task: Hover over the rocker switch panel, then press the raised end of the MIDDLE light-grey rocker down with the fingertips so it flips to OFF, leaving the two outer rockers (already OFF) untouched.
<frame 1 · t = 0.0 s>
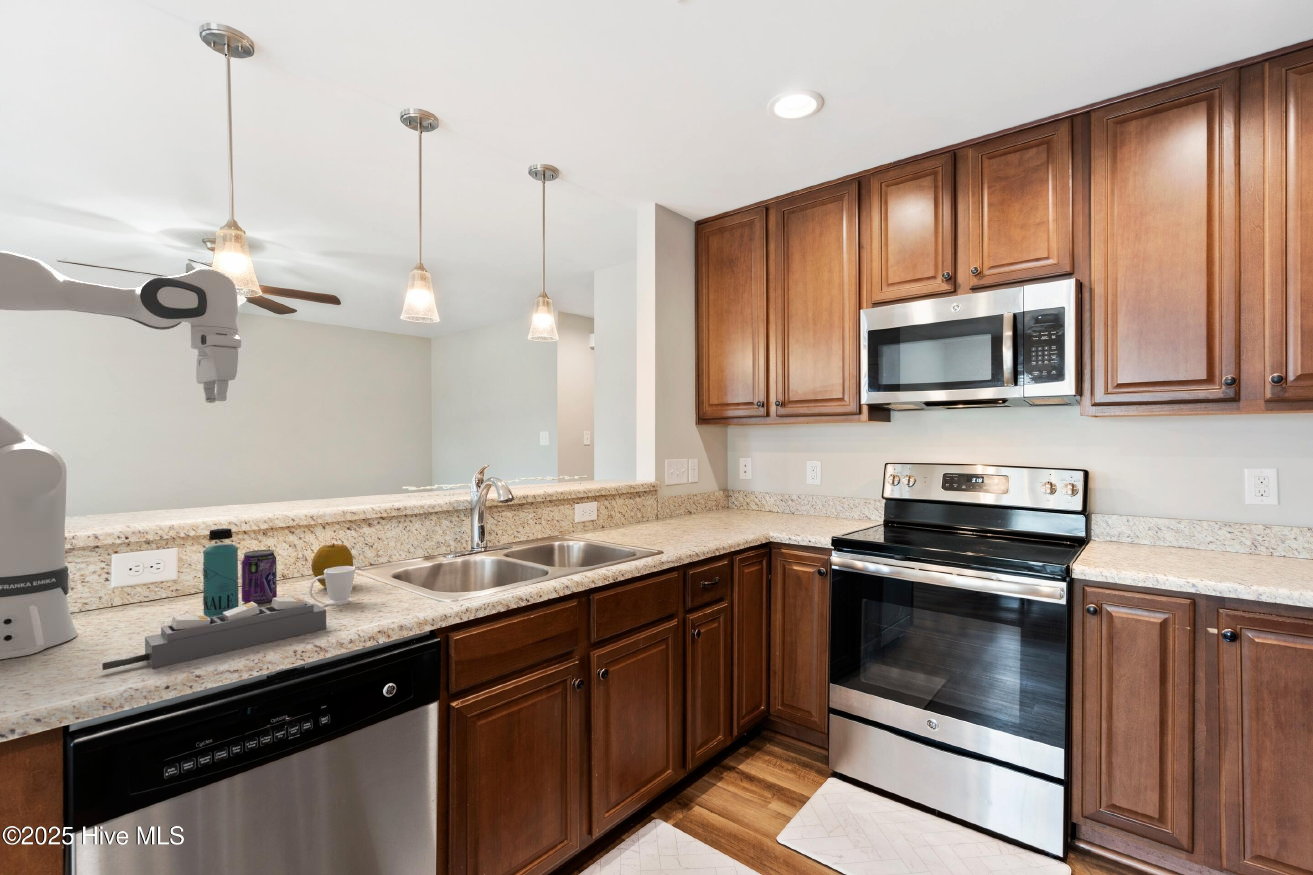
hand: (215, 402, 139), 48 cm above the countertop, fingers open, 8 cm apart
rocker 3: (288, 603, 123), point 6 cm above the countertop, hinge at 12.0°
beverage can: (259, 602, 146), on the countertop
rocker switch panel: (242, 642, 117), on the countertop
apple: (332, 587, 159), on the countertop
rocker 1: (190, 621, 111), point 6 cm above the countertop, hinge at 12.0°
cup: (333, 604, 143), on the countertop
beverage bottle: (221, 621, 131), on the countertop
rocker 2: (241, 612, 117), point 6 cm above the countertop, hinge at -12.0°
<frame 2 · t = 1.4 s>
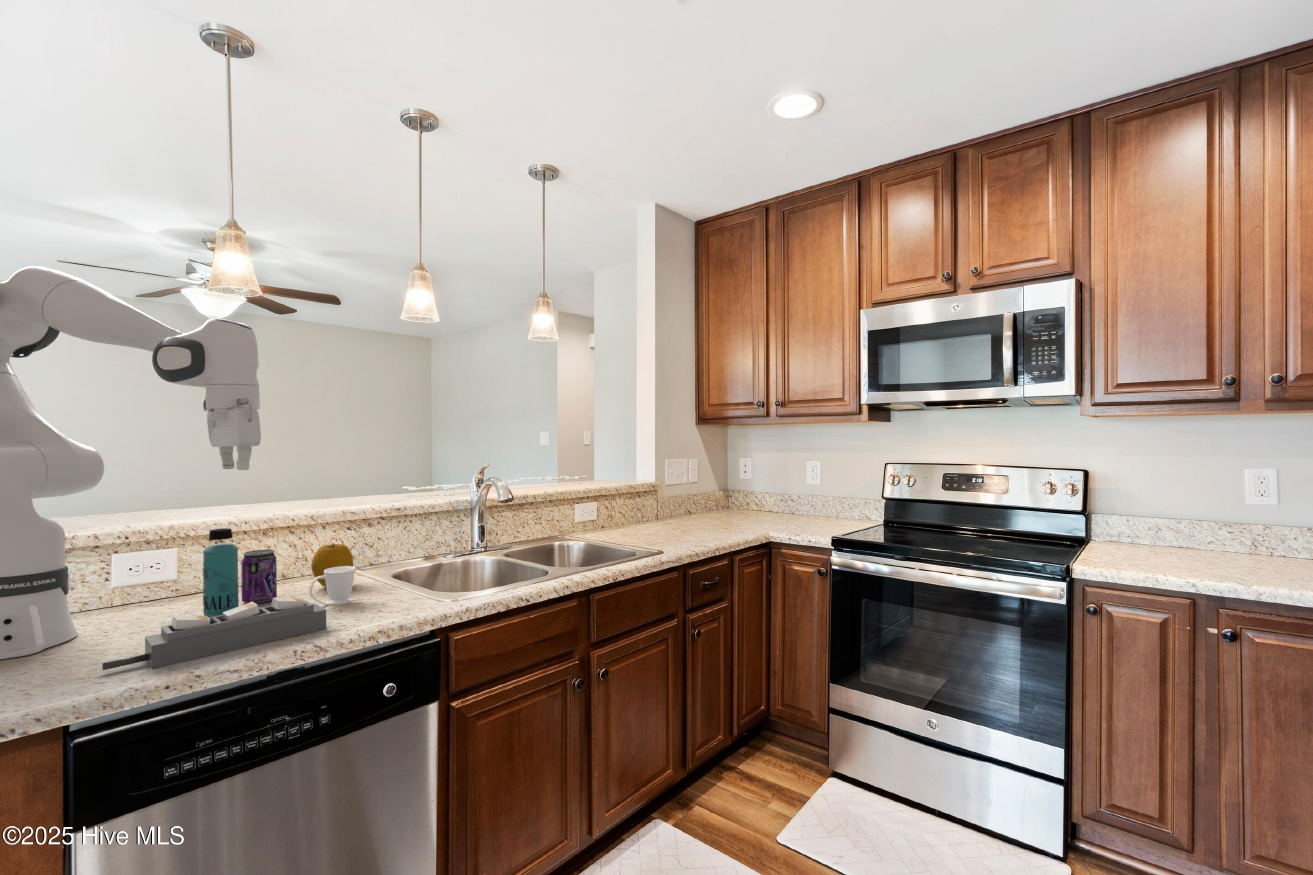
hand: (235, 469, 121), 33 cm above the countertop, fingers open, 8 cm apart
nothing on the countertop moved.
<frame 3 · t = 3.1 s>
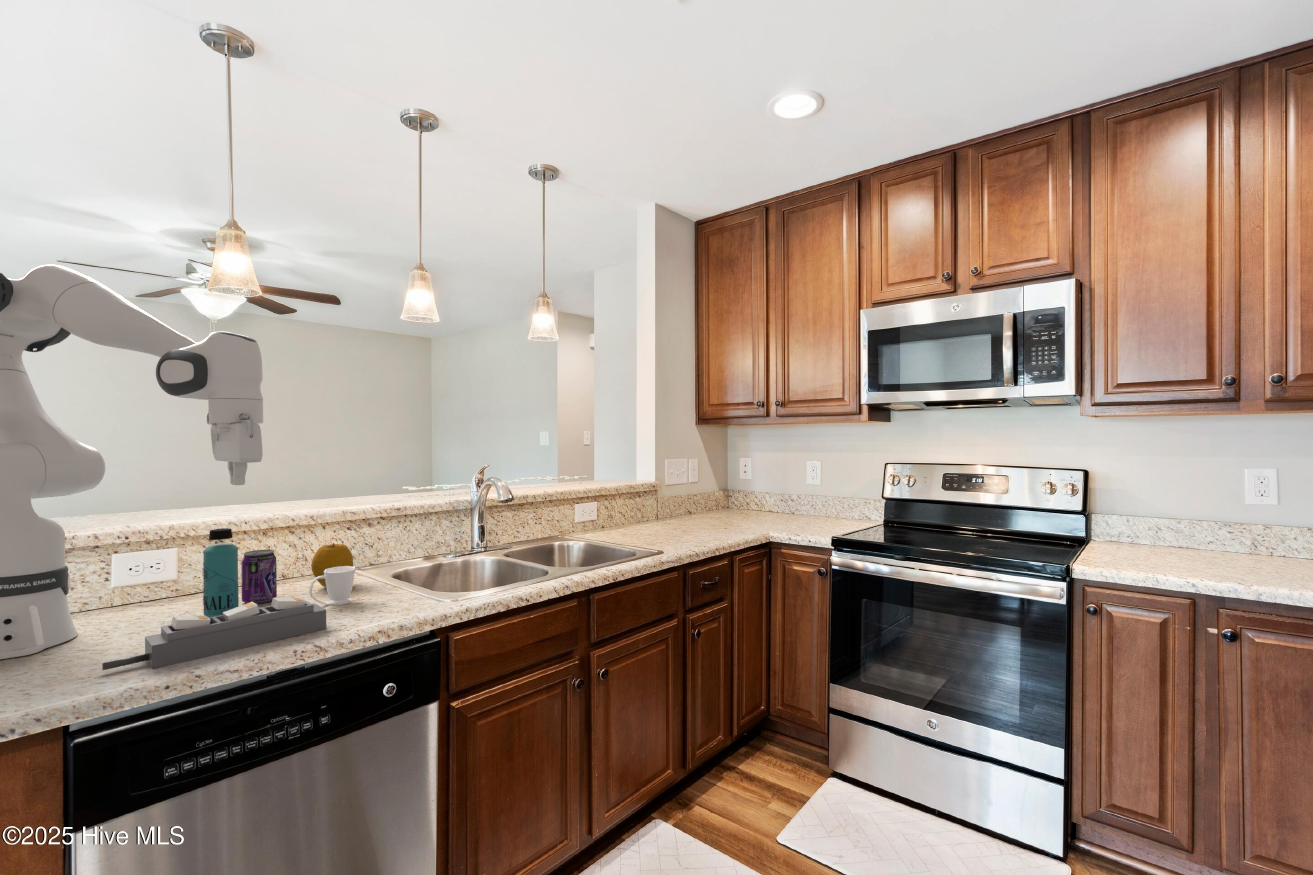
hand: (237, 484, 119), 31 cm above the countertop, fingers closed
nothing on the countertop moved.
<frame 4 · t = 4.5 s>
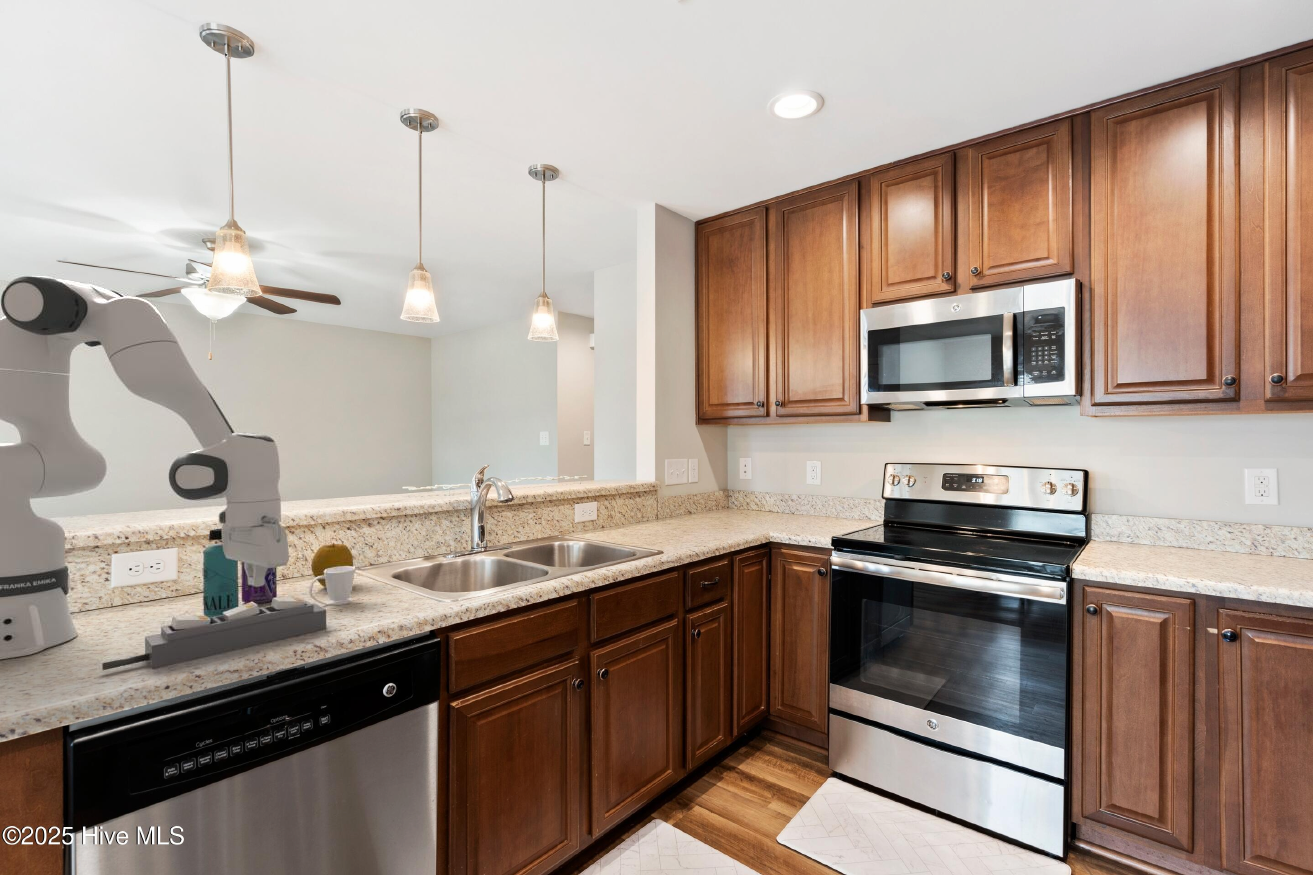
hand: (256, 585, 118), 11 cm above the countertop, fingers closed
nothing on the countertop moved.
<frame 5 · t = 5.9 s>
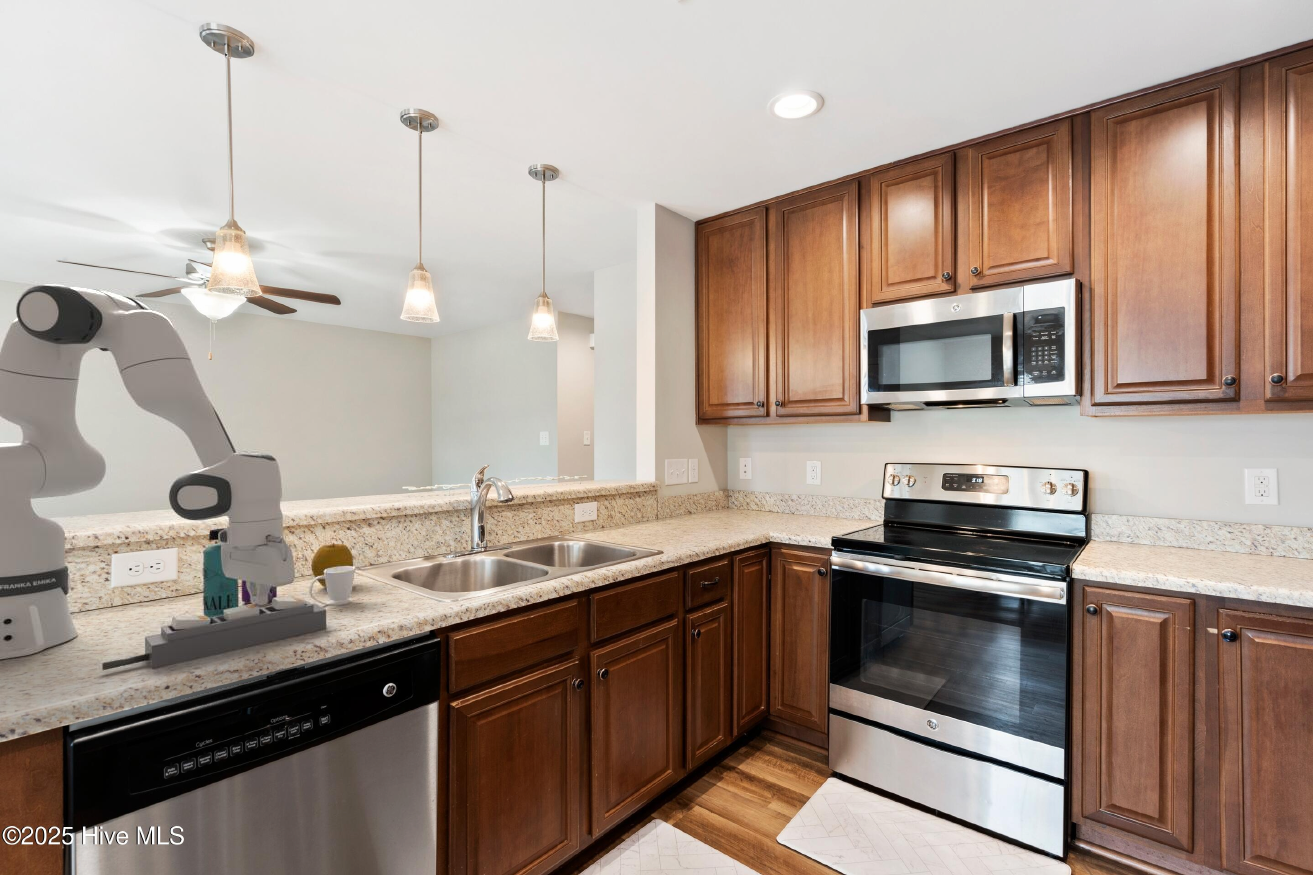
hand: (259, 603, 119), 7 cm above the countertop, fingers closed
rocker 2: (241, 612, 117), point 6 cm above the countertop, hinge at -2.8°
everything else where it was.
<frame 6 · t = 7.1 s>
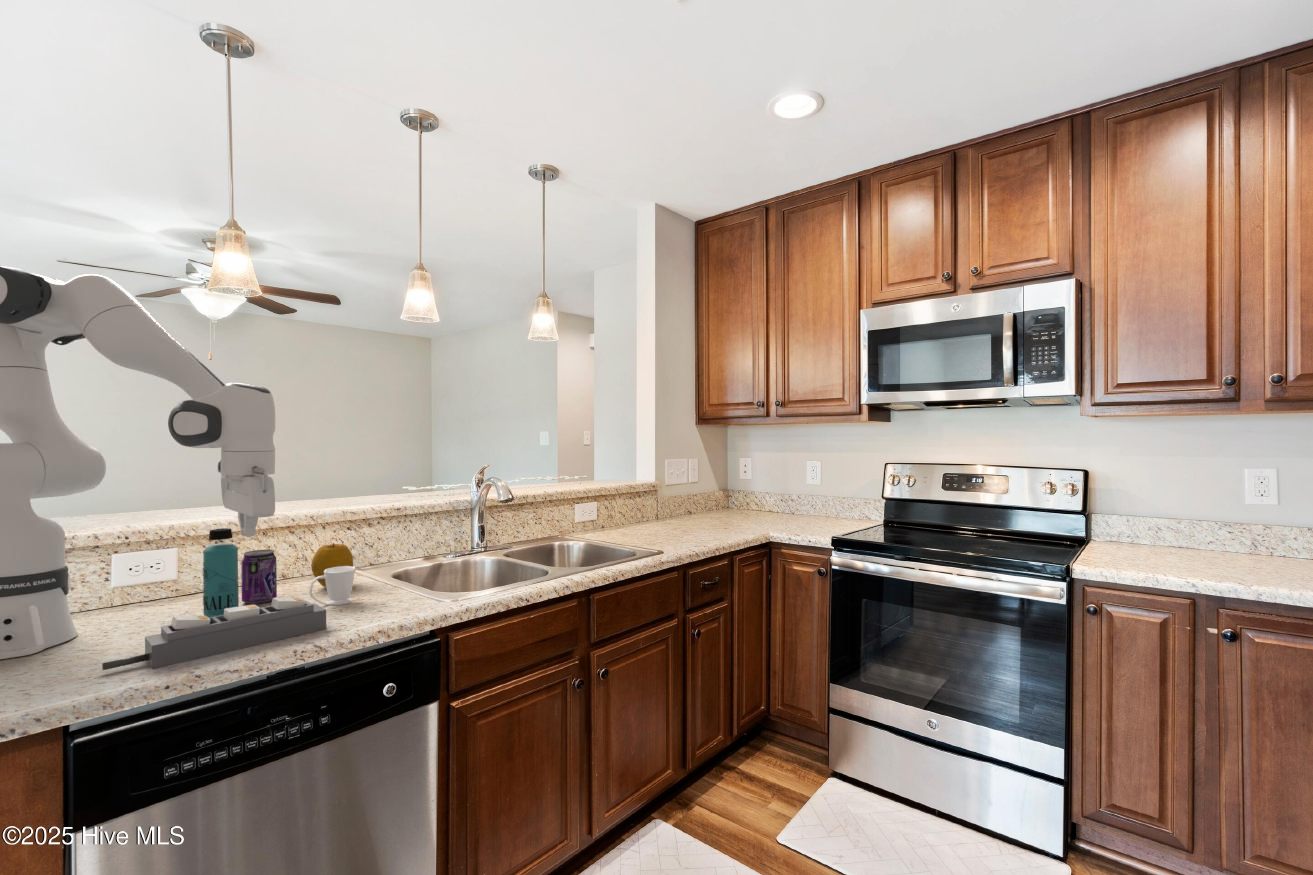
hand: (247, 535, 119), 20 cm above the countertop, fingers closed
rocker 2: (241, 612, 117), point 6 cm above the countertop, hinge at 2.7°
everything else where it was.
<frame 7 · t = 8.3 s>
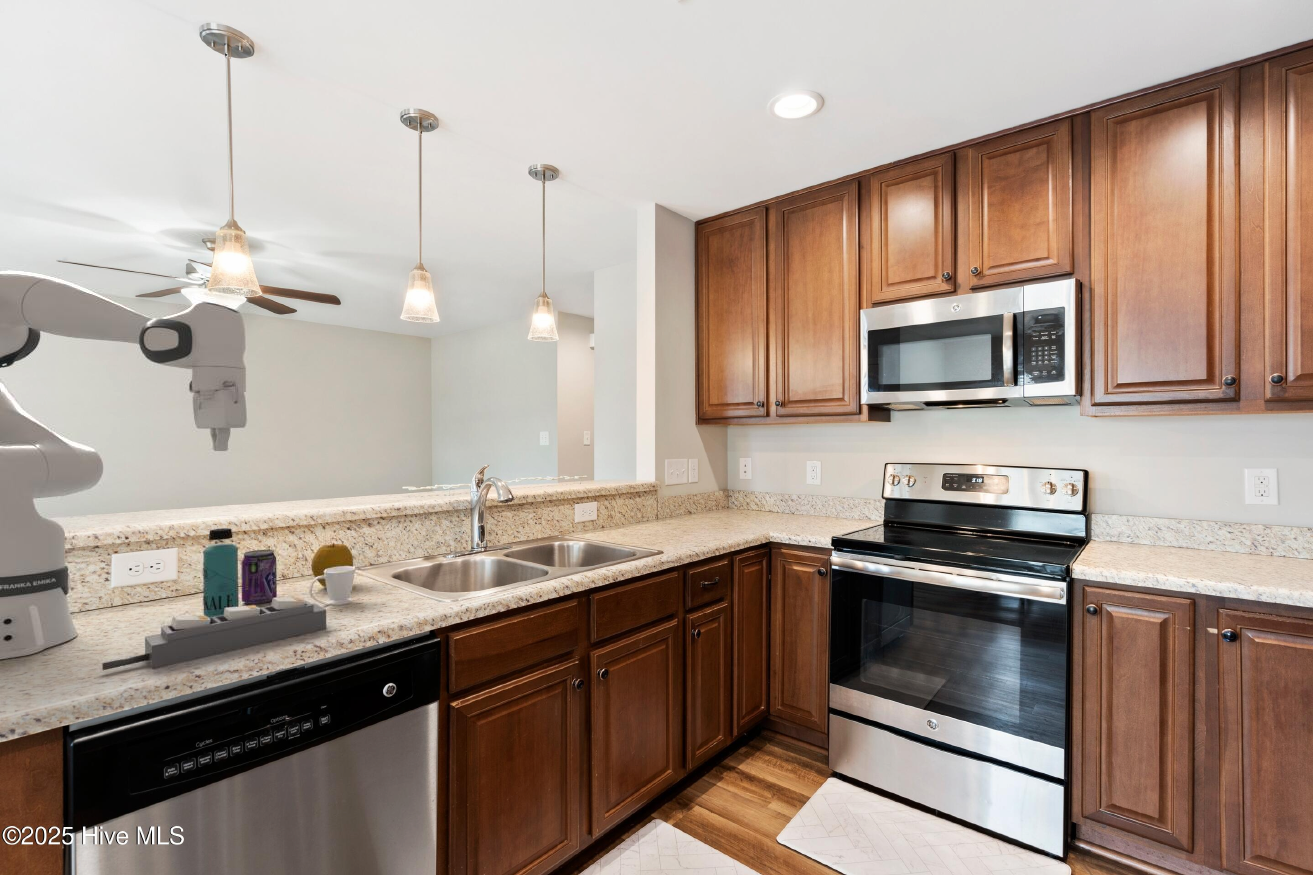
hand: (220, 451, 122), 37 cm above the countertop, fingers closed
rocker 2: (241, 612, 117), point 6 cm above the countertop, hinge at 6.5°
everything else where it was.
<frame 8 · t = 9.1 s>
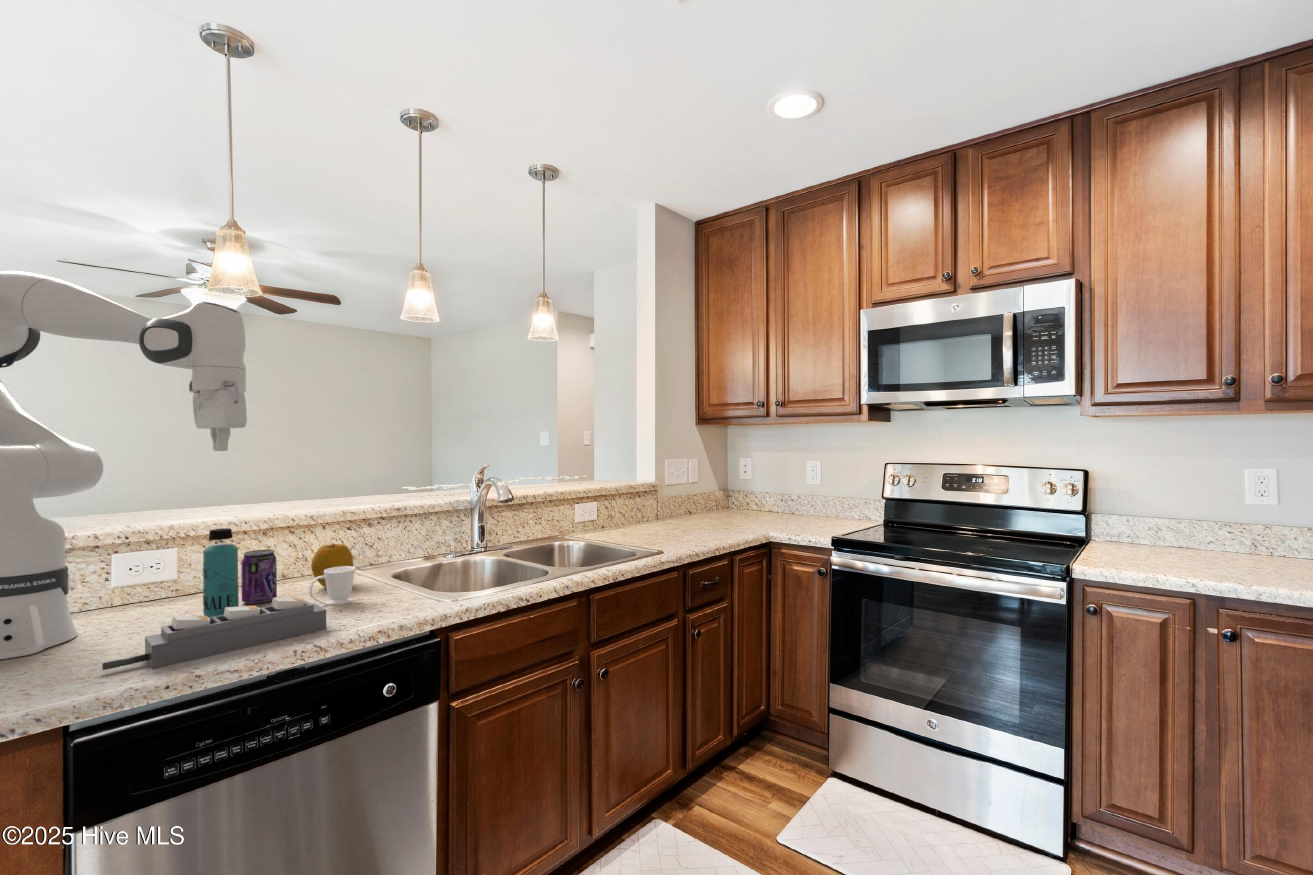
hand: (220, 450, 122), 37 cm above the countertop, fingers closed
rocker 2: (242, 612, 117), point 6 cm above the countertop, hinge at 8.4°
everything else where it was.
at the end: rocker 2 at +9° (first picture: -12°); rocker 1 at +12° (first picture: +12°); rocker 3 at +12° (first picture: +12°) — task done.
